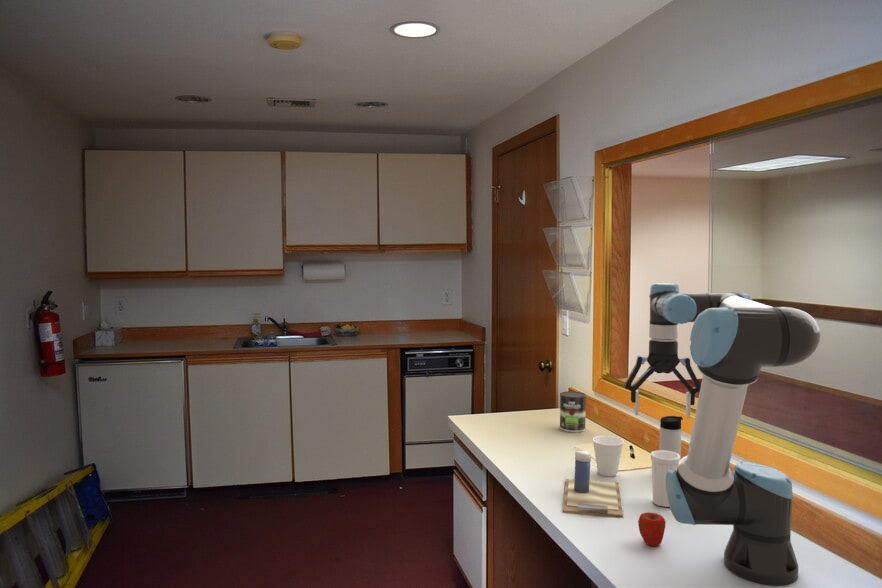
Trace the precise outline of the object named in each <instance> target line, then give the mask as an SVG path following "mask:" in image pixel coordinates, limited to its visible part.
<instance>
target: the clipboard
mask: <svg viewBox="0 0 882 588" xmlns="http://www.w3.org/2000/svg"><path fill="white" fill-rule="evenodd" d="M564 481H565V482H564V492H563V503H562V504H563V505H562V513H567V514H578V515H579V514H580V515H588V516H589V515H591V516H601V517H602V516H603V517H612V518H621V519H622V518H624V512H623V507H622V506H623V505H622V504H623V503H622V497H621V491H620V483H619V482H616V481H615V482H614V481H603V480H590V482H589V491H588V492H578V491H576V490H574V478H565V480H564Z"/></svg>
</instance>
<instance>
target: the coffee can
mask: <svg viewBox="0 0 882 588" xmlns="http://www.w3.org/2000/svg"><path fill="white" fill-rule="evenodd" d="M559 397H560V399H559V429H560V430H561V431H563V432H566V433H567V432H568V433H582V432H585V431H586V412H587V411H586V409H587V405H586V404H587V394H586V393H583V392H580V391H573V390H572V391H569V390H567V391H561V392H560V394H559Z"/></svg>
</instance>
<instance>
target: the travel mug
mask: <svg viewBox="0 0 882 588" xmlns="http://www.w3.org/2000/svg"><path fill="white" fill-rule="evenodd" d="M683 420H684V419H683V416H676V415H668V416H662V417H661V418H660V422H659V423H660V425H659V450H665V451H671V452H675V453H677V454H679V455H680V460H681V459H682V458H681V457H682V448H681V447H682V421H683Z"/></svg>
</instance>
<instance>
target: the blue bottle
mask: <svg viewBox="0 0 882 588" xmlns="http://www.w3.org/2000/svg"><path fill="white" fill-rule="evenodd" d="M591 461H592V453H591V452H590V451H586V450H577V451H575V453H574V477H573V479H574V490H576V491H578V492H588V491H589V482H590V481H591V480H590V478H591Z"/></svg>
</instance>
